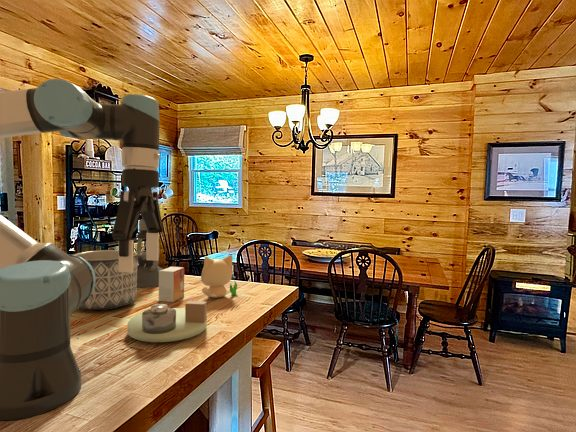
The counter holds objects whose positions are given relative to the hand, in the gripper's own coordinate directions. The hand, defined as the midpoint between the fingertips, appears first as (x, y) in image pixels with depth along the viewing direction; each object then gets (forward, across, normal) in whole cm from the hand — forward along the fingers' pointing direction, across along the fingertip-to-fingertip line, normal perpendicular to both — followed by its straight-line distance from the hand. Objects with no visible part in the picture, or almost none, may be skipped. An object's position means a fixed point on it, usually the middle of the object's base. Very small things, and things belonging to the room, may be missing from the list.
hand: (140, 265), depth 82 cm
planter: (+21, +35, +27) cm, 49 cm away
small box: (+21, +45, +8) cm, 50 cm away
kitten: (+21, +50, -7) cm, 54 cm away
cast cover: (+18, +10, -1) cm, 20 cm away
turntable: (+21, +16, -1) cm, 26 cm away
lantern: (+21, +64, +27) cm, 73 cm away
